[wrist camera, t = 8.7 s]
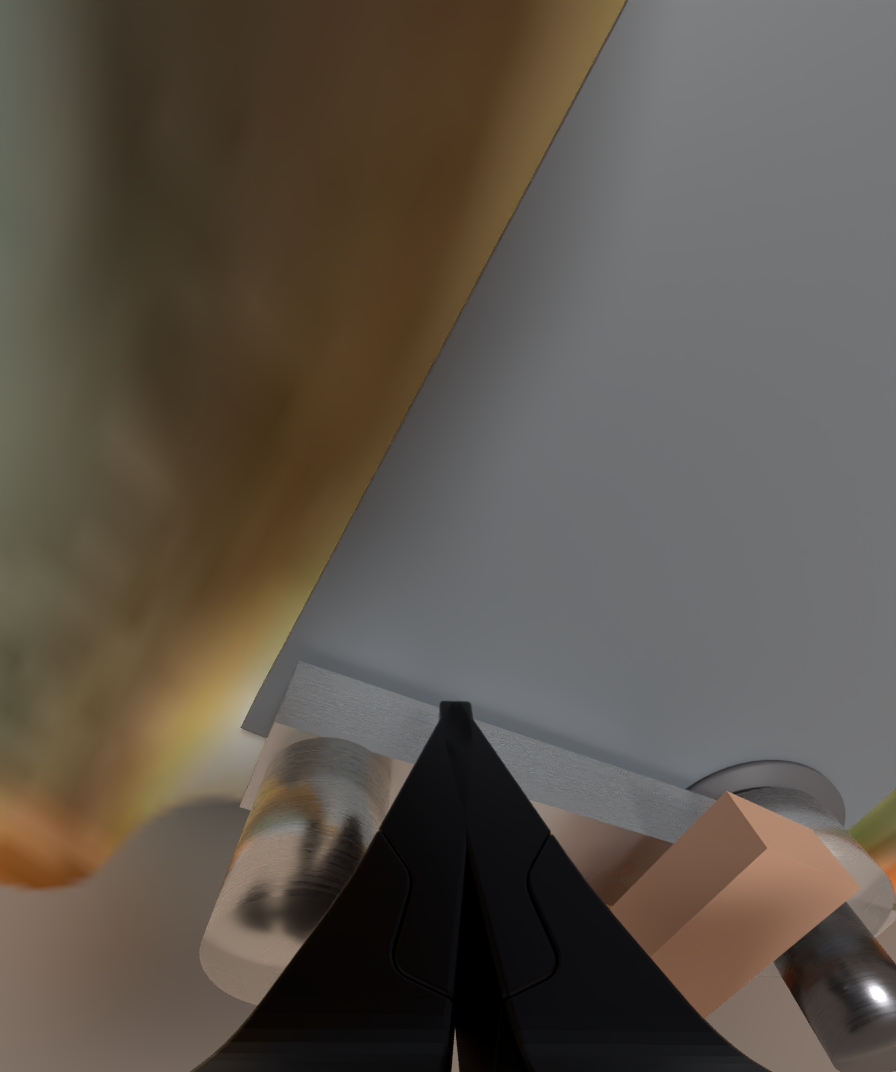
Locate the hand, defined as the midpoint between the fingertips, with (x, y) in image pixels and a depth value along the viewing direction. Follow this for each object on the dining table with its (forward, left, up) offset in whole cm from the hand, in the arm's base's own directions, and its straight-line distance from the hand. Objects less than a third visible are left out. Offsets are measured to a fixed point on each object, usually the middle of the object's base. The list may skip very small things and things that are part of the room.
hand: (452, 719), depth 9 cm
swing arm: (+6, -2, -2) cm, 7 cm away
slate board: (+6, +5, -4) cm, 9 cm away
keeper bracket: (+7, -3, -4) cm, 8 cm away
